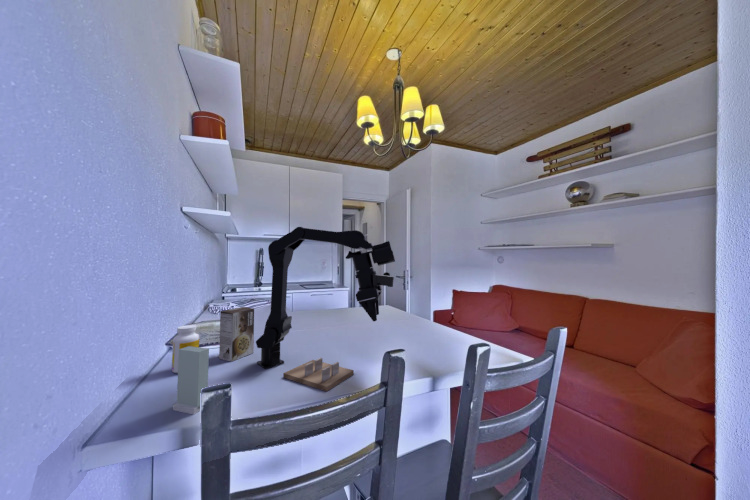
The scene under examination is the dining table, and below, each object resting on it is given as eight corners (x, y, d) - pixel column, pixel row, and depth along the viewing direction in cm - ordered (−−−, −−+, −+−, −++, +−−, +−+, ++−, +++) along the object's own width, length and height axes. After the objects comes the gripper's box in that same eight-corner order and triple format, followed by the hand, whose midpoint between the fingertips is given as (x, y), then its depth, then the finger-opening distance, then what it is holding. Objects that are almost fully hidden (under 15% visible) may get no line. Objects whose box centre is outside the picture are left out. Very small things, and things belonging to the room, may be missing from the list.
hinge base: (283, 377, 75) (283, 362, 76) (312, 363, 86) (313, 350, 86) (326, 391, 67) (327, 374, 68) (353, 374, 78) (353, 359, 78)
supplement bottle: (203, 366, 83) (205, 324, 83) (184, 375, 76) (185, 330, 77) (186, 364, 84) (188, 323, 85) (165, 372, 78) (167, 328, 78)
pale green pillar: (190, 400, 62) (192, 345, 63) (210, 404, 61) (212, 347, 61) (173, 410, 59) (175, 350, 59) (193, 414, 57) (196, 353, 58)
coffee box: (241, 350, 97) (242, 306, 98) (254, 353, 95) (255, 307, 96) (218, 359, 89) (219, 310, 90) (231, 362, 87) (233, 312, 87)
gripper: (387, 263, 74) (401, 318, 73) (389, 263, 93) (400, 306, 92) (349, 273, 75) (363, 327, 74) (359, 270, 94) (369, 314, 93)
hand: (376, 317), depth 83 cm, fingers open, 9 cm apart
